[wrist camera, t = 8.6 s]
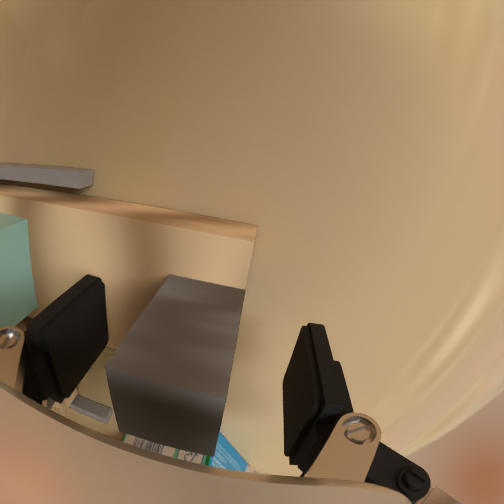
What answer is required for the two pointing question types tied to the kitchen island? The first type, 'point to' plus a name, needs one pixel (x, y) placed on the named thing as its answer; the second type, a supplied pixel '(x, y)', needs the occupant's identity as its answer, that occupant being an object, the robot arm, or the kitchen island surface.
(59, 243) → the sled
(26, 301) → the teal cube
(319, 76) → the kitchen island surface
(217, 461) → the milk carton
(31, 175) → the lane frame
